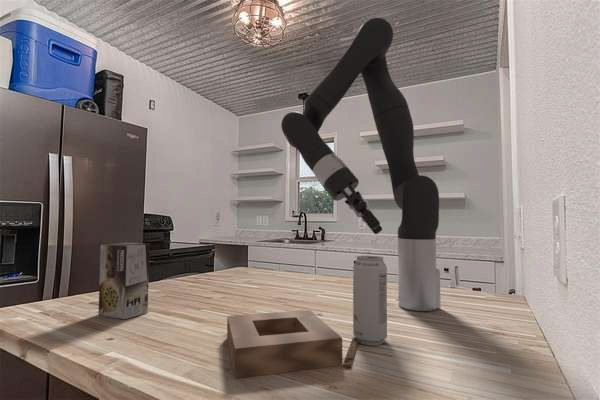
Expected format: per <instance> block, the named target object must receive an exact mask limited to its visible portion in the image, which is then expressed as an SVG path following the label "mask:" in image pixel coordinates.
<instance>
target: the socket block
mask: <svg viewBox="0 0 600 400" xmlns="http://www.w3.org/2000/svg"><path fill="white" fill-rule="evenodd" d="M226 323H227V327H226V329H227V330H226V339H227V345H228V350H229V356H230V361H231V367H232V372H233V379H243V378H249V377H257V376H267V375H273V374H282V373H291V372H298V371H305V370H307V371H308V370H314V369H320V368H321V369H322V368H323V369H324V368H329V367H330V368H331V367H338V366H342V365H343V337H342V336H341V335H340V334H338V333H337V332H336V331H335V330H334V329H333V328H331V327H330V326H329V325H328V324H327V323H326V322H325V321H324V320H322V319H321V318H319V317H318V315H316V314H315V312H313V311H312V310H311V309H306V310H305V309H304V310H303V309H302V310H291V311H278V312H277V311H276V312H275V311H274V312H264V313H249V314H237V315H227V322H226Z"/></svg>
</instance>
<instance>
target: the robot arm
mask: <svg viewBox="0 0 600 400" xmlns="http://www.w3.org/2000/svg"><path fill="white" fill-rule="evenodd" d="M393 38H394V30H393V27H392V25H391V24H390V22H389V21H388V20H386V19H384V18H382V17H373V18H370V19H367V20H366V21H364V23H363V24H362V25H361V26H360V28H359V29H358V31H357V34H356V36H355V37H354V39H353V40H352V41H351V44H350V45H349V46H348V48H347V50H346V51H345V52H344V54H343V55H342V56H341V58H340V59H339V60H338V62H337V63H336V64H335V65H334V67H333V68H332V69H331V70H330V71H329V73H327V74H326V76H325V77H324V78H323V79H322V80H321V81H320V83H318V85H317V86H316V87H315V88H314V90H313V91H312V92H311V93H310V94H309V95H308V97H307V98H306V99H305V101H304V110H303V112H299V111H289V112H288V113H286V114H285V115H284V116H283V117H282V120H281V124H280V125H281V126H280V127H281V131H282V133H283V135H284V136H285V138H286V141H287V142H288V144H289V145H290V146H291V147H293V148H295V149H297V151H298V152H299V154H300V156H301V158H302V159H303V161H304V163H305V164H306V165H307V167H309V169H310V171H311V172H312V173H313V175H314V176H315V178H316V179H317V181H318V183H320V184H321V186H322V188H323V189H324V190H325V191H326V192H327V194H328V195H329V196H330V197H331V199H332V200H333V201H334V202H337V201H341V200H343V199H346V200H344V203H345V204H346V206H347V207H348V209H350V210H352V211H353V213H354V214H355V215H356V216H357V218H361V220H362V222H363V223H364V224H366V225H367V226H368V228H369V229H370V230H371V231H372V232H373V234H374V235H378V234H379V233H381V232H382V231H383V227H382V226H381V223H380V221H379V219H378V218H377V217H376V216H375V215H374V214H373V212H372V211H371V210H370V209H371V208H370V207H369V206H368V203H367V201H366V200H365V198H364V196H363V195H362V194H361V192H360V191H358V190H357V191H356V190H355V189H356V188H357V187H358V186H359V183H360V182H359V179H358V178H357V177H356V176H355V174H354V173H353V172H352V170H351V169H350V168H349V167H348V166H347V165H346V163H345V162H344V160H342V159H341V157H339V156H338V155H337V154H336V153H335V152H334V151H333V149H332V148H331V147H330V146H329V145H328V144H327V142H325V141H324V140H323V138H322V137H321V135H320V134H319V131H320V129H321V127H322V126H323V123H324V122H325V119H326V118H327V117H328V116H329V115H330V114H331V113H332V111H333V110H334V109H335V108H336V106H338V104H339V103H340V101H342V99H343V98H344V96H345V95H346V93H347V92H348V91H349V89H350V88H351V87H352V85H353V84H354V82H355V81H356V80H357V78H358V77H359V75H361V77H362V79H363V82H364V85H365V89H366V92H367V93H366V94H367V96H368V97H367V98H368V102H369V104H370V108H371V112H372V115H373V117H372V118H373V120H374V124H375V128H376V131H377V133H378V137H379V139H380V140H379V141H380V144H381V147H382V150H383V154H384V157H385V159H386V162H387V167H388V171H389V177H390V183H391V189H392V194H393V199H394V201H395V204H396V205H397V207H398V208H399V209H401V222H400V224H399V226H398V228H397V266H398V267H397V273H398V274H397V277H398V279H397V281H398V282H397V283H398V286H397V287H398V288H397V289H398V294H397V295H398V298H397V299H398V306H399V307H401V308H403V309H405V310H410V311H418V312H429V311H430V312H432V311H436V310H437V309H441V270H440V269H439V268H437V230H438V227H439V223H440V221H439V220H440V193H439V188H438V185H437V184H436V182H435V181H434V180H433V179H432V178H431V177H429V176H428V175H427V176H426V175H422V174H421V175H419V171H418V168H417V166H416V162H415V157H414V156H415V155H414V154H415V153H414V147H415V146H414V141H415V138H414V137H415V135H414V131H415V130H414V123H413V117H412V115H411V111H410V107H409V104H408V102H407V100H406V98H405V95H403V93H402V91H401V90H400V89H399V88H398V87H397V85H395V83H394V81H393V79H392V77H391V74H390V71H389V68H388V63H387V55H386V54H387V53H388V51H389V49H390V47H391V45H392V43H393Z"/></svg>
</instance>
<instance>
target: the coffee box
mask: <svg viewBox="0 0 600 400" xmlns="http://www.w3.org/2000/svg"><path fill="white" fill-rule="evenodd" d="M150 246H151V243H142V242H115V243H108V244H107V243H106V244H100V253H99V254H100V255H99V258H100V259H99V287H98V290H99V291H98V292H99V293H98V316H103V317H108V318H109V317H110V318H115V319H120V320H127V319H130V318H131V319H132V318H135V317H137V316H141V315H145V314H147V313H148V311H149V308H148V307H149V305H148V304H149V281H150V280H149V279H150V278H149V277H150V273H149V272H150Z"/></svg>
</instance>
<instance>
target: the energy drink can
mask: <svg viewBox="0 0 600 400" xmlns="http://www.w3.org/2000/svg"><path fill="white" fill-rule="evenodd" d="M352 270H353V273H352V274H353V277H352V278H353V279H352V283H353V284H352V286H353V287H352V288H353V289H352V292H353V293H352V295H353V299H352V301H353V304H352V305H353V306H352V308H353V309H352V314H353V317H352V319H353V320H352V321H353V322H352V323H353V324H352V326H353V329H352V330H353V331H352V333H353V337H356V339H357V340H358V344H359V343H360V344H363V345H367V346H380V345H382V344H384V342H385V340H386V339H387V338H388V298H387V297H388V286H387V285H388V281H387V280H388V276H387V275H388V274H387V272H388V268H387V265H386V263H385V262H384V257H383V256H377V255H375V256H374V255H358V256H356V261H355V263H353V267H352Z"/></svg>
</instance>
